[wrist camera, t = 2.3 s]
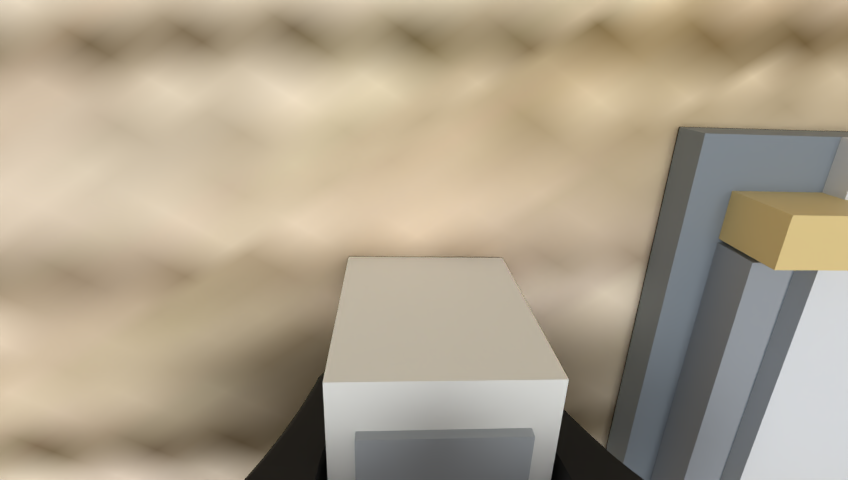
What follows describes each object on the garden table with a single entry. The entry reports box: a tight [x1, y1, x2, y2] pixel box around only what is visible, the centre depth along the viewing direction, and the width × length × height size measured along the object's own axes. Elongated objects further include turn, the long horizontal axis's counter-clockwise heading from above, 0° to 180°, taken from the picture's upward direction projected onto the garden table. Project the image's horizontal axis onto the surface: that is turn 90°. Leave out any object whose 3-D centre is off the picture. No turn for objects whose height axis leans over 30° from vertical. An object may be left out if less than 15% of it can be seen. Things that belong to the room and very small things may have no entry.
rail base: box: [606, 127, 848, 480], centre depth 13 cm, size 14×10×3 cm
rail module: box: [323, 257, 569, 480], centre depth 11 cm, size 7×4×5 cm, turn 178°
